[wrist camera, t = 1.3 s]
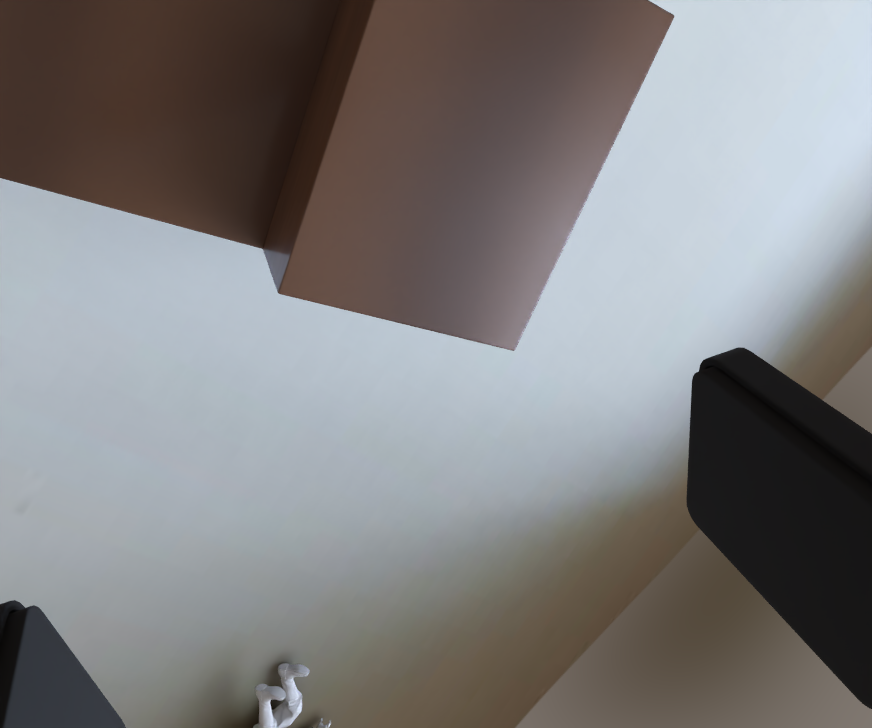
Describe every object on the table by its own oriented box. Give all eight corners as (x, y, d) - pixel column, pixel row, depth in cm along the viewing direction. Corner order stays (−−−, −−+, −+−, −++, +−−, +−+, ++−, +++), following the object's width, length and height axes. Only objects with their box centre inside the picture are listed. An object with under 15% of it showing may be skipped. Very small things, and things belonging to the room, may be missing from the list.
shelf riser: (-311, 26, 23) (-619, 75, 14) (-313, -443, 18) (-760, -817, 9) (423, 248, 35) (514, 351, 26) (524, -3, 31) (675, 15, 22)
